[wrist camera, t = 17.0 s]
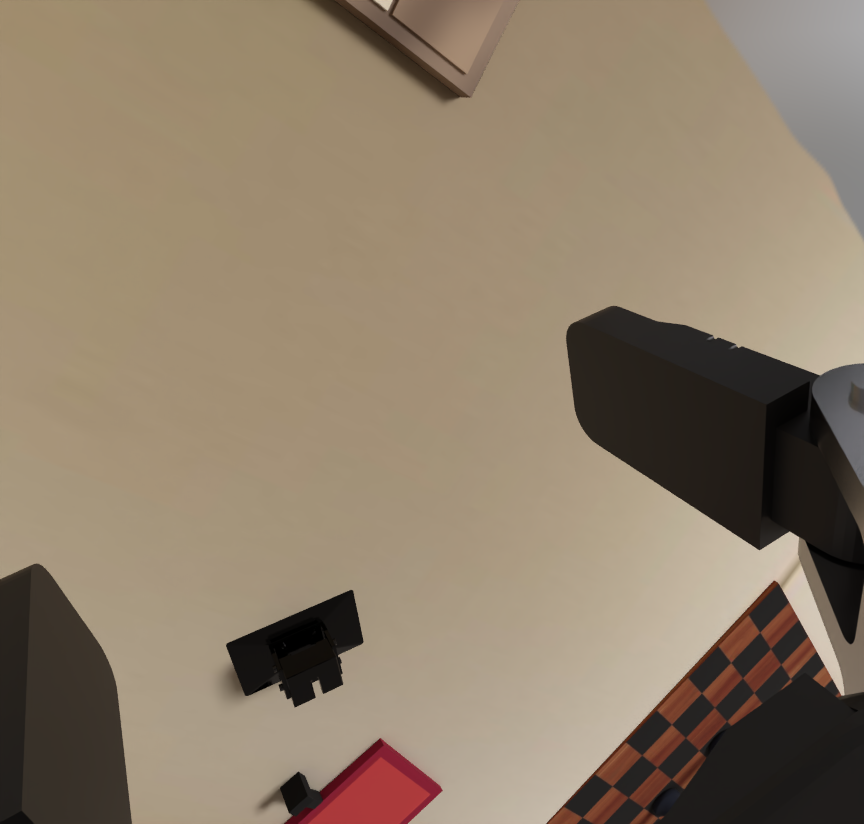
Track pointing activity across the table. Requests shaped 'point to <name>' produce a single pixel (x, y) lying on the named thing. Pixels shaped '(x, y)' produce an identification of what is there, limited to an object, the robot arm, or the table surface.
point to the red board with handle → (363, 792)
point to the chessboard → (698, 716)
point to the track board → (440, 34)
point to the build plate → (299, 650)
